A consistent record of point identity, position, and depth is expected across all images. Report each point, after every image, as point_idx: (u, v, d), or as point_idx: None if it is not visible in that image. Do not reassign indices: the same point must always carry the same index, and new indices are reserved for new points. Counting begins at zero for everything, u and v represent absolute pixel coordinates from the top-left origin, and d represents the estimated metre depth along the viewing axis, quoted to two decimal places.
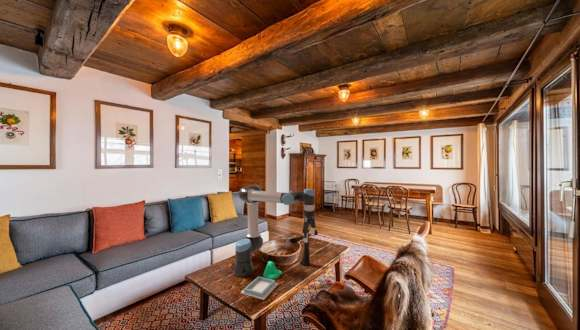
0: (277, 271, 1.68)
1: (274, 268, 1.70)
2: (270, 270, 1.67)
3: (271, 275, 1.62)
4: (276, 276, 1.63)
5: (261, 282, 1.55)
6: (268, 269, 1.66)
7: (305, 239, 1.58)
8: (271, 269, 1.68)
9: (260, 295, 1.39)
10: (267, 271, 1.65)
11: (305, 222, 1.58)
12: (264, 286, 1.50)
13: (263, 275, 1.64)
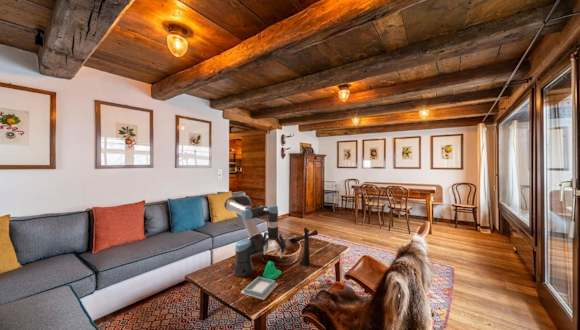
0: (277, 271, 1.68)
1: (274, 268, 1.70)
2: (270, 270, 1.67)
3: (271, 275, 1.62)
4: (276, 276, 1.63)
5: (261, 282, 1.55)
6: (268, 269, 1.66)
7: None
8: (271, 269, 1.68)
9: (260, 295, 1.39)
10: (267, 271, 1.65)
11: None
12: (264, 286, 1.50)
13: (263, 275, 1.64)
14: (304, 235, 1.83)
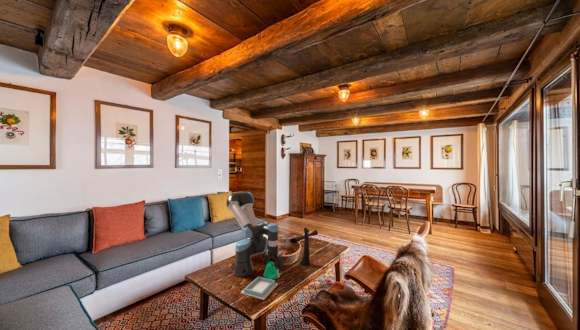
0: None
1: (274, 268, 1.70)
2: (270, 270, 1.67)
3: (271, 275, 1.62)
4: (276, 276, 1.63)
5: (261, 282, 1.55)
6: (268, 269, 1.66)
7: None
8: (271, 269, 1.68)
9: (260, 295, 1.39)
10: (267, 271, 1.65)
11: None
12: (264, 286, 1.50)
13: (263, 275, 1.64)
14: (304, 235, 1.83)
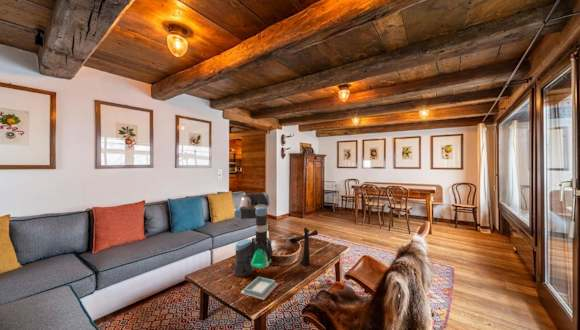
0: None
1: (263, 256, 1.55)
2: (258, 258, 1.52)
3: (260, 263, 1.47)
4: (265, 264, 1.48)
5: (261, 282, 1.55)
6: (256, 257, 1.50)
7: None
8: (259, 257, 1.52)
9: (260, 295, 1.39)
10: (255, 259, 1.49)
11: None
12: (264, 286, 1.50)
13: (251, 264, 1.48)
14: (304, 235, 1.83)
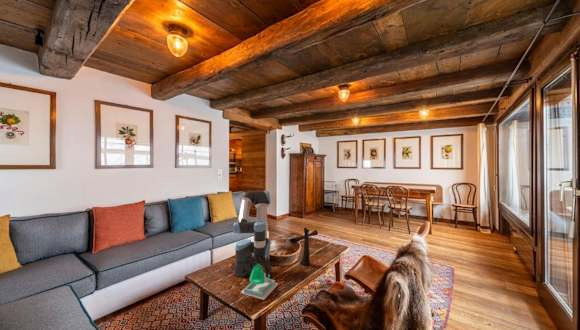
0: None
1: (261, 271, 1.54)
2: (257, 274, 1.50)
3: (258, 279, 1.46)
4: None
5: None
6: (255, 273, 1.49)
7: None
8: (258, 273, 1.51)
9: (260, 295, 1.39)
10: (254, 275, 1.48)
11: None
12: (264, 286, 1.50)
13: (249, 280, 1.47)
14: (304, 235, 1.83)
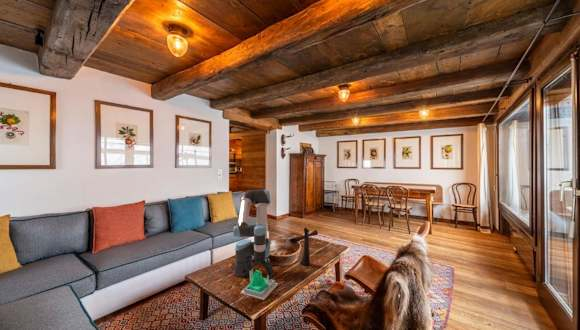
0: (264, 281, 1.52)
1: (261, 278, 1.54)
2: (257, 280, 1.51)
3: (258, 286, 1.46)
4: (264, 287, 1.47)
5: None
6: (255, 279, 1.49)
7: None
8: (258, 279, 1.51)
9: (260, 295, 1.39)
10: (253, 282, 1.48)
11: None
12: None
13: (249, 286, 1.47)
14: (304, 235, 1.83)
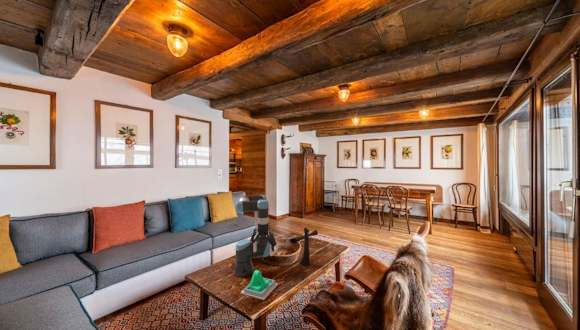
0: (264, 281, 1.52)
1: (261, 278, 1.54)
2: (257, 280, 1.51)
3: (258, 286, 1.46)
4: (264, 287, 1.47)
5: None
6: (254, 279, 1.49)
7: None
8: (258, 279, 1.51)
9: (260, 295, 1.39)
10: (253, 282, 1.48)
11: None
12: None
13: (249, 286, 1.47)
14: (304, 235, 1.83)
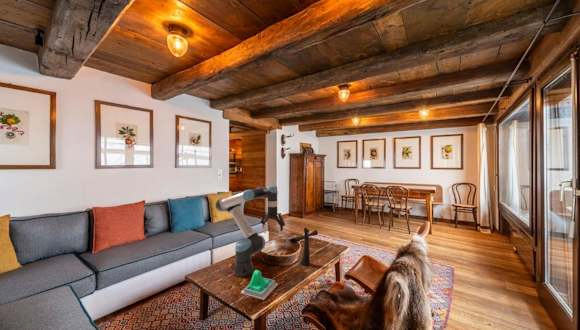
0: (264, 281, 1.52)
1: (261, 278, 1.54)
2: (256, 280, 1.51)
3: (258, 286, 1.46)
4: (263, 287, 1.47)
5: None
6: (254, 279, 1.49)
7: None
8: (257, 279, 1.51)
9: (260, 295, 1.39)
10: (253, 282, 1.48)
11: None
12: None
13: (249, 286, 1.47)
14: (304, 235, 1.83)
